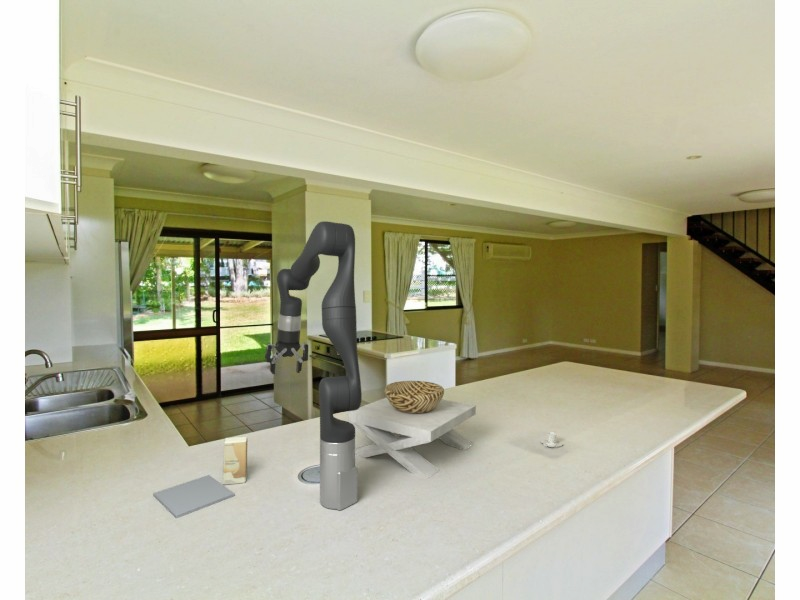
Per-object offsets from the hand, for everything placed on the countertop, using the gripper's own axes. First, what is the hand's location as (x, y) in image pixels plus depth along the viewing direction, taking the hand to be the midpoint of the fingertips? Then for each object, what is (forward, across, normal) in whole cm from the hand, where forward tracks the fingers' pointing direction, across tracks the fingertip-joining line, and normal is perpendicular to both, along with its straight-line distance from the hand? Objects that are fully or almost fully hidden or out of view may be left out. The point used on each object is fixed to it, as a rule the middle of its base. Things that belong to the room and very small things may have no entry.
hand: (285, 372), depth 148 cm
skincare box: (+24, -18, -22) cm, 37 cm away
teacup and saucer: (+17, +85, -42) cm, 96 cm away
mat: (+24, -29, -26) cm, 46 cm away
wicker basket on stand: (+21, +40, -25) cm, 52 cm away
